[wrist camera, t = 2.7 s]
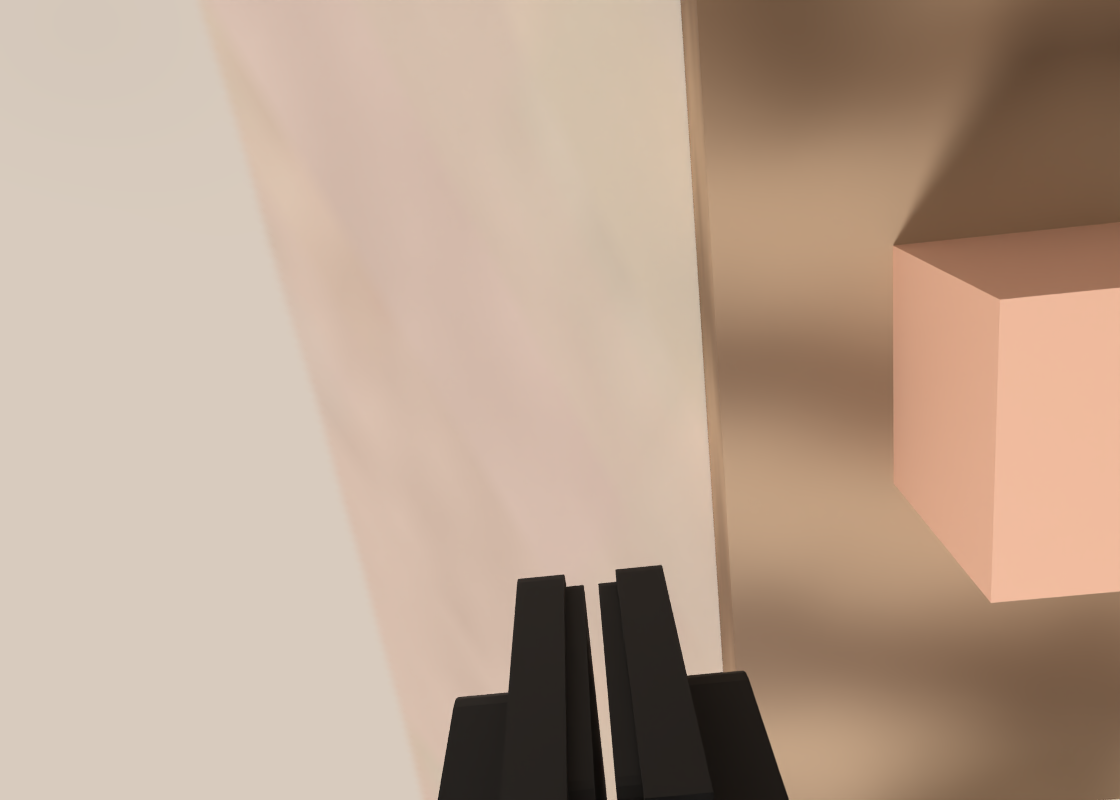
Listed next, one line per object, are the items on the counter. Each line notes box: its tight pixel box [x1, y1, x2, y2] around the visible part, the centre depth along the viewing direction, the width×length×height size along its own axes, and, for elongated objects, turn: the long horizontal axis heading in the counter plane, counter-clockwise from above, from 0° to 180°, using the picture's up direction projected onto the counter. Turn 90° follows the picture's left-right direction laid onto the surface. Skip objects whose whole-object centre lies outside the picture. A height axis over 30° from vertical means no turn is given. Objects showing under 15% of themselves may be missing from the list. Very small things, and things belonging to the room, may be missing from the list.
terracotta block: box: [893, 222, 1120, 603], centre depth 18 cm, size 5×5×5 cm
